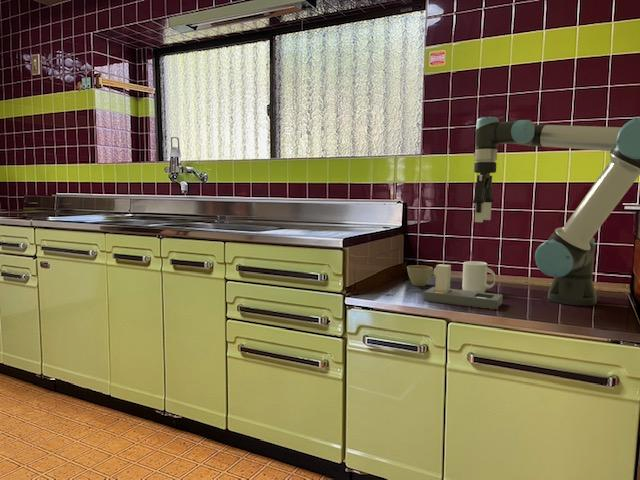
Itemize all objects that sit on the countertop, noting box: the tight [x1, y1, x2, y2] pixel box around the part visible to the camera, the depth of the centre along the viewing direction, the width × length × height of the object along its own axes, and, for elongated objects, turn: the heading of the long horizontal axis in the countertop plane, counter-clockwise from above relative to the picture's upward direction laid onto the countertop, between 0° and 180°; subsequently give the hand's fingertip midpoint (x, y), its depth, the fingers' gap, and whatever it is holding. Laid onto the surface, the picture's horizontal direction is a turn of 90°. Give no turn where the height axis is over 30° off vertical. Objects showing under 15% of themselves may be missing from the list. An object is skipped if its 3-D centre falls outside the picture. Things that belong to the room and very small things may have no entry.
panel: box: [423, 286, 504, 310], centre depth 166 cm, size 24×10×3 cm, turn 60°
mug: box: [461, 260, 497, 293], centre depth 182 cm, size 9×12×11 cm
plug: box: [433, 263, 452, 293], centre depth 169 cm, size 5×4×12 cm
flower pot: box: [406, 265, 434, 287], centre depth 194 cm, size 10×10×7 cm
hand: (482, 221), depth 177 cm, fingers open, 13 cm apart
